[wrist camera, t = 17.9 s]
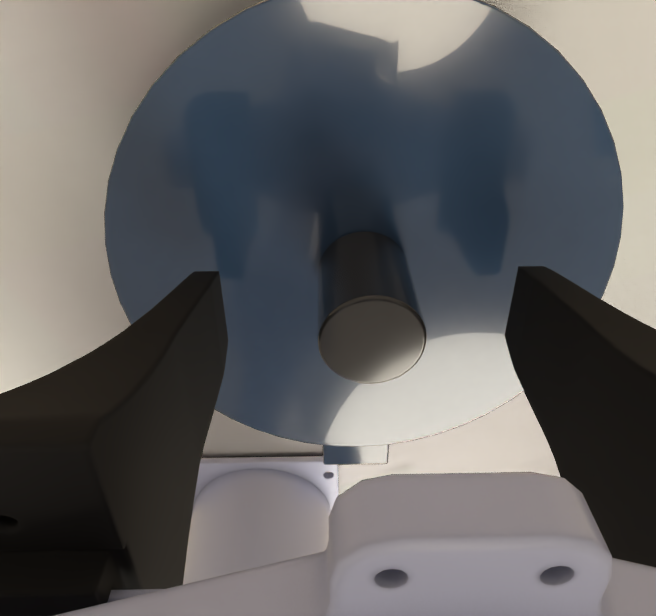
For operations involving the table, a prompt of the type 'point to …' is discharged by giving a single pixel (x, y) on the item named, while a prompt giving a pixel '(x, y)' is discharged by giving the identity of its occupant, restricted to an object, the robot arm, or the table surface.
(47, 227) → the table surface
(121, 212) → the pot lid
